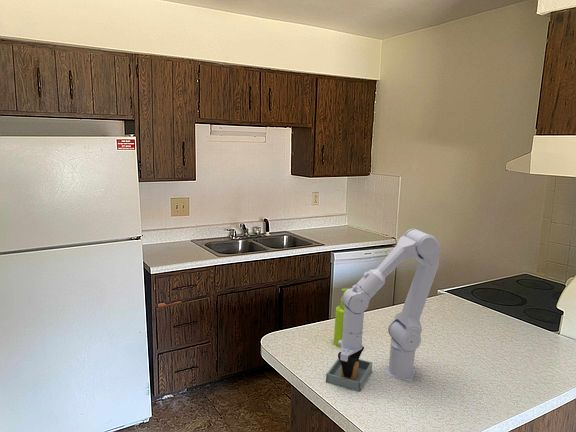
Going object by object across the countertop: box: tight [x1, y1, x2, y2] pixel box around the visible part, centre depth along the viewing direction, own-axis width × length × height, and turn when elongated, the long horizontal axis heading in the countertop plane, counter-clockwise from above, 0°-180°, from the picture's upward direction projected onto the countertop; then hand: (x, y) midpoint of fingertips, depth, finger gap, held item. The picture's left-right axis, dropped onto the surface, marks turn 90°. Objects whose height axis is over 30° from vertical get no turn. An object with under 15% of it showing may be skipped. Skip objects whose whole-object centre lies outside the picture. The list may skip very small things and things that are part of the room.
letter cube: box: [341, 361, 359, 380], centre depth 127 cm, size 4×4×4 cm
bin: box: [325, 357, 373, 392], centre depth 127 cm, size 13×10×3 cm
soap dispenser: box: [333, 287, 349, 348], centre depth 146 cm, size 6×7×20 cm
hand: (349, 373), depth 127 cm, fingers closed on letter cube, 4 cm apart
